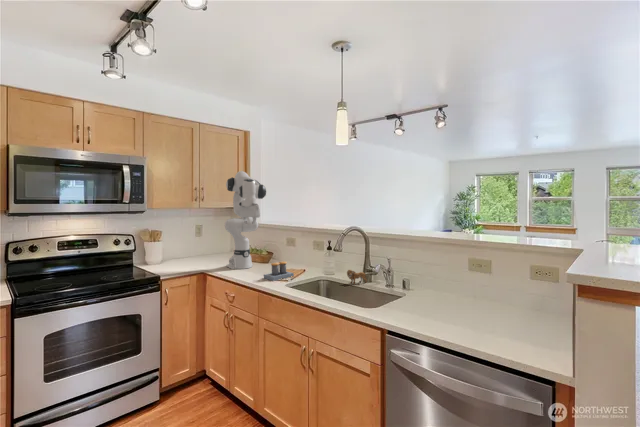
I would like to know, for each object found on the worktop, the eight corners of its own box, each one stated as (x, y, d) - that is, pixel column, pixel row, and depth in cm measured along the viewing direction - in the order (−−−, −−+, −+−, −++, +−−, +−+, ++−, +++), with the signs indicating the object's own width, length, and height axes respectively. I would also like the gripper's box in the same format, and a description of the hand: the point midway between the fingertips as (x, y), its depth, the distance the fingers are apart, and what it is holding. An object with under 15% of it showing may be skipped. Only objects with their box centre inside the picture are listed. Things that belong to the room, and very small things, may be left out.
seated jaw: (277, 276, 227) (276, 262, 226) (283, 275, 231) (283, 261, 230) (282, 278, 223) (282, 263, 222) (288, 276, 227) (288, 262, 226)
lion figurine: (349, 285, 202) (349, 270, 202) (345, 283, 207) (345, 269, 207) (369, 282, 208) (369, 268, 208) (365, 280, 213) (365, 267, 213)
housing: (263, 278, 222) (263, 274, 222) (283, 274, 234) (283, 270, 234) (273, 280, 214) (273, 277, 214) (293, 276, 226) (293, 273, 226)
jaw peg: (269, 278, 222) (269, 263, 222) (276, 276, 226) (275, 262, 226) (274, 279, 218) (274, 264, 218) (281, 278, 222) (281, 263, 222)
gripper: (262, 203, 216) (262, 224, 217) (245, 203, 231) (245, 222, 232) (254, 203, 212) (254, 225, 213) (237, 203, 226) (237, 223, 227)
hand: (249, 223), depth 222 cm, fingers open, 8 cm apart
